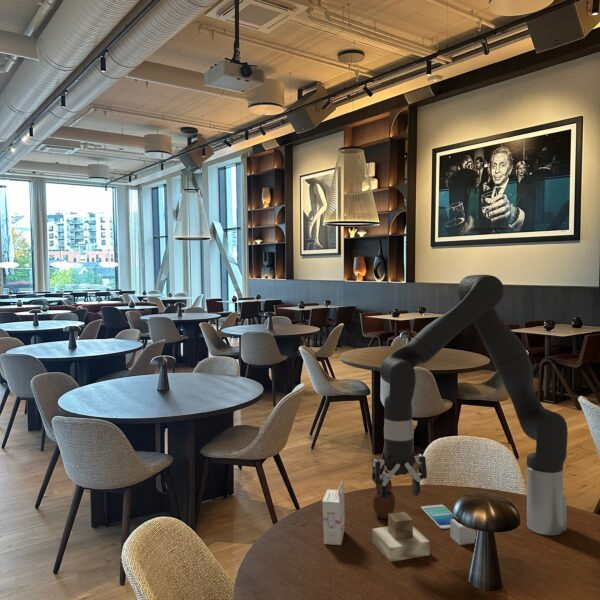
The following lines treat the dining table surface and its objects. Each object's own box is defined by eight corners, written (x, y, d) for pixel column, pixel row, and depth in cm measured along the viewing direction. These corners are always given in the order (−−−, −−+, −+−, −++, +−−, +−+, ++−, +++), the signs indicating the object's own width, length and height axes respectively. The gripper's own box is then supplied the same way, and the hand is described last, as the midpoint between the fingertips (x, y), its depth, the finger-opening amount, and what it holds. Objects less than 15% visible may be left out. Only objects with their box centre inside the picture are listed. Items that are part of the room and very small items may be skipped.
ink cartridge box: (327, 529, 153) (326, 478, 153) (345, 531, 152) (344, 479, 152) (322, 544, 145) (321, 489, 144) (341, 546, 144) (340, 491, 143)
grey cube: (466, 534, 149) (466, 517, 149) (475, 543, 144) (475, 525, 144) (450, 536, 148) (450, 519, 148) (459, 545, 143) (459, 527, 143)
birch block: (409, 537, 149) (409, 522, 149) (429, 556, 138) (429, 541, 138) (372, 543, 146) (372, 528, 146) (390, 563, 135) (389, 548, 135)
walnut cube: (405, 529, 145) (405, 511, 145) (412, 537, 140) (412, 519, 140) (388, 531, 144) (388, 513, 144) (395, 540, 139) (395, 521, 139)
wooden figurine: (380, 509, 166) (379, 461, 165) (398, 514, 162) (397, 464, 162) (369, 517, 160) (369, 467, 160) (387, 522, 157) (386, 471, 156)
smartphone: (442, 504, 168) (465, 525, 153) (442, 506, 168) (465, 528, 153) (419, 506, 167) (440, 528, 152) (419, 509, 167) (440, 531, 152)
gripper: (417, 428, 146) (419, 488, 147) (367, 433, 143) (369, 494, 144) (430, 436, 139) (431, 499, 140) (377, 442, 136) (379, 506, 136)
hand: (400, 496), depth 142 cm, fingers open, 8 cm apart
